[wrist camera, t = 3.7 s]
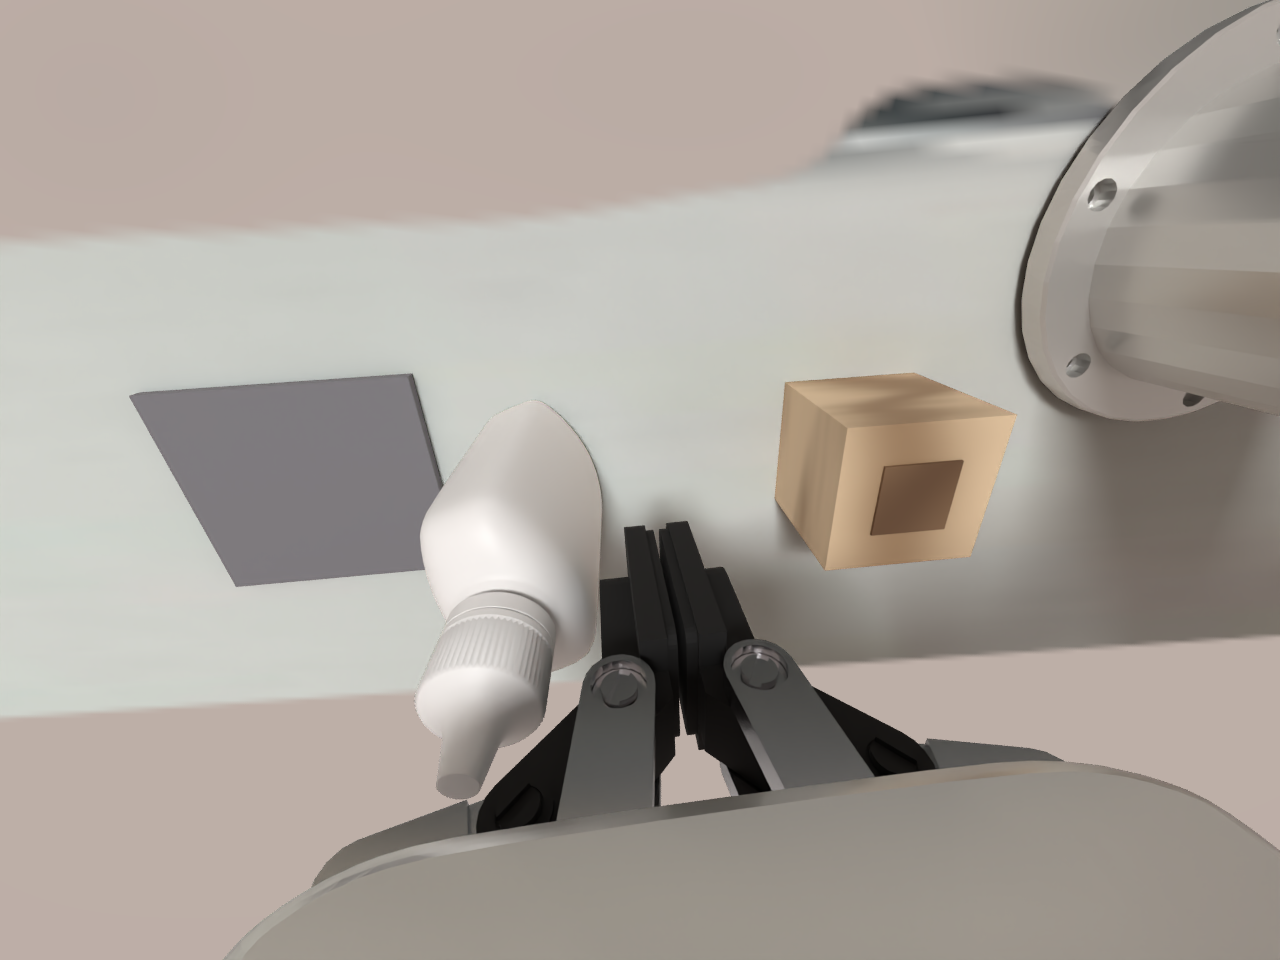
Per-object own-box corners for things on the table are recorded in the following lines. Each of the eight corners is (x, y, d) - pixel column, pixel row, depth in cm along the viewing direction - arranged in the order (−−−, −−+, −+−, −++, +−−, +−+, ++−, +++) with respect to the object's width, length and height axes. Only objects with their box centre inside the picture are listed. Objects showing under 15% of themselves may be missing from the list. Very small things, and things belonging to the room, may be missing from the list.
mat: (411, 373, 16) (407, 376, 16) (463, 560, 20) (460, 566, 20) (139, 392, 16) (128, 395, 15) (242, 580, 19) (236, 586, 19)
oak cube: (912, 372, 18) (1019, 415, 13) (887, 487, 20) (972, 558, 16) (784, 381, 18) (849, 429, 13) (774, 497, 20) (826, 572, 15)
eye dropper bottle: (493, 524, 19) (346, 875, 9) (488, 391, 17) (272, 656, 6) (600, 530, 20) (584, 875, 9) (611, 402, 17) (606, 668, 7)
